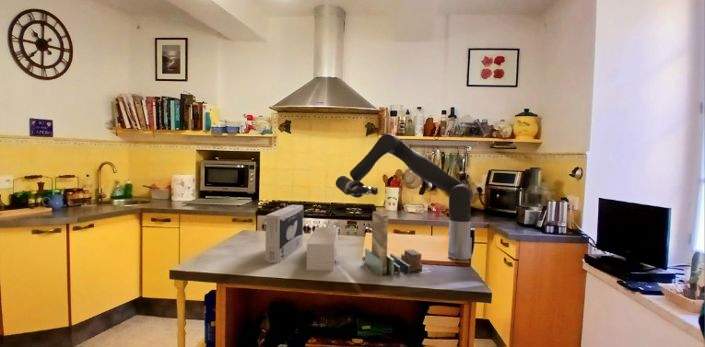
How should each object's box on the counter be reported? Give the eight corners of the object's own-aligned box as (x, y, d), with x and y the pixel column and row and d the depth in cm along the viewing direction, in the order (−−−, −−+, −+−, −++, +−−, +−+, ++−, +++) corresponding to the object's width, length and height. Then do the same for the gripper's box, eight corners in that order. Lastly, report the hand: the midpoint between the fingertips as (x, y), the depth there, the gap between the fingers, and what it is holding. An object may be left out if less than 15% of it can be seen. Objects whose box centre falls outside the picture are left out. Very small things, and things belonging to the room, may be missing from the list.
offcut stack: (412, 262, 155) (412, 248, 154) (422, 269, 146) (422, 254, 146) (400, 263, 153) (401, 249, 153) (410, 270, 145) (410, 255, 144)
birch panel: (377, 264, 151) (378, 211, 149) (386, 272, 141) (388, 215, 140) (371, 265, 150) (372, 211, 149) (380, 273, 140) (381, 215, 139)
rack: (412, 262, 160) (413, 245, 159) (432, 275, 144) (432, 256, 143) (363, 266, 153) (363, 248, 153) (377, 280, 137) (378, 260, 136)
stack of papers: (333, 271, 147) (333, 244, 146) (306, 270, 147) (307, 243, 147) (337, 249, 179) (338, 227, 178) (315, 248, 179) (315, 226, 179)
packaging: (278, 263, 155) (279, 215, 154) (265, 261, 156) (265, 215, 155) (302, 245, 185) (303, 205, 183) (291, 244, 186) (291, 204, 185)
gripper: (340, 180, 173) (350, 184, 157) (369, 180, 177) (382, 183, 162) (340, 196, 173) (350, 201, 158) (369, 196, 178) (381, 200, 162)
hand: (366, 192), depth 160 cm, fingers open, 8 cm apart
